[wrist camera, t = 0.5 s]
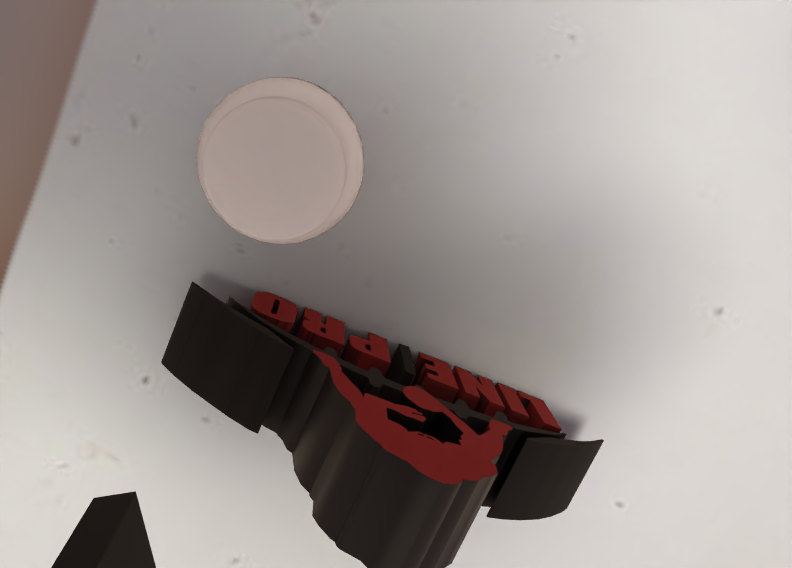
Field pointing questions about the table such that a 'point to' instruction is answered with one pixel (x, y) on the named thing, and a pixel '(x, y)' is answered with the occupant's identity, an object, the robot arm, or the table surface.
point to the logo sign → (377, 428)
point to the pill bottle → (280, 160)
